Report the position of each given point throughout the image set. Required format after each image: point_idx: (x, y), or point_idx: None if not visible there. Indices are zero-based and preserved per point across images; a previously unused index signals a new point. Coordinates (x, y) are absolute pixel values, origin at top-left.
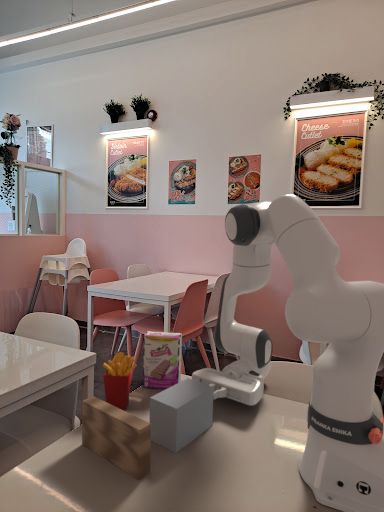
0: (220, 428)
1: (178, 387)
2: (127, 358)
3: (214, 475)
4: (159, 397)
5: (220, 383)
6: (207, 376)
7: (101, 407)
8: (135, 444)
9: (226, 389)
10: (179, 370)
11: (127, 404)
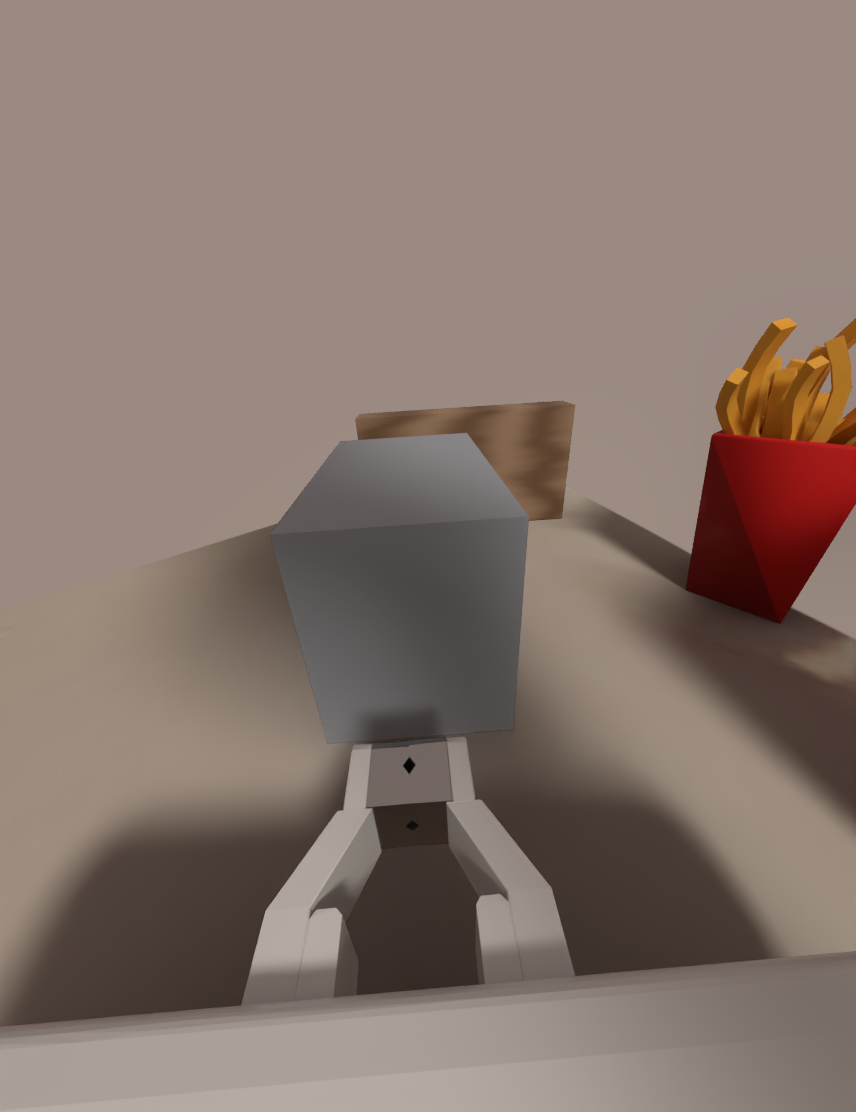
0: (273, 754)
1: (455, 469)
2: (827, 354)
3: (225, 581)
4: (443, 439)
5: (390, 1001)
6: (842, 1109)
7: (501, 406)
8: None
9: (252, 976)
10: None
11: (749, 608)
